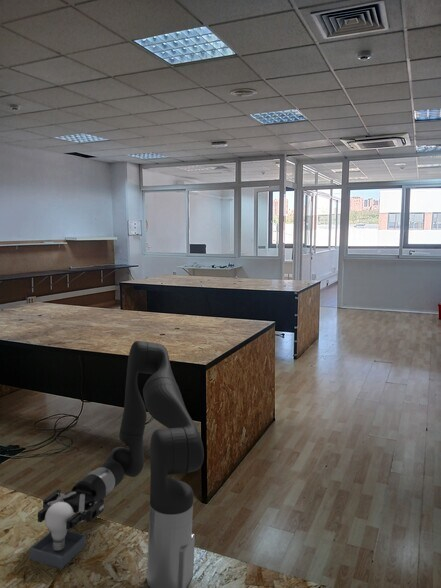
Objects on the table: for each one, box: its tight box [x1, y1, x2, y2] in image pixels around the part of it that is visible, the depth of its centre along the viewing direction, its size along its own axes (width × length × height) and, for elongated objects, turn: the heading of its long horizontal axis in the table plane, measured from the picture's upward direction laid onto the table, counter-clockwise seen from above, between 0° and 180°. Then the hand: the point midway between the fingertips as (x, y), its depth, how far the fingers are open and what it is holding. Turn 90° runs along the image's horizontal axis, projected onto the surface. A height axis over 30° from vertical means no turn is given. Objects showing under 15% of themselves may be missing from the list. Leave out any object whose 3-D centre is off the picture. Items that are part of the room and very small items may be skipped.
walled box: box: [29, 530, 87, 570], centre depth 103 cm, size 9×9×3 cm
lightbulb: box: [44, 501, 75, 551], centre depth 103 cm, size 6×6×11 cm
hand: (53, 522), depth 101 cm, fingers open, 7 cm apart
